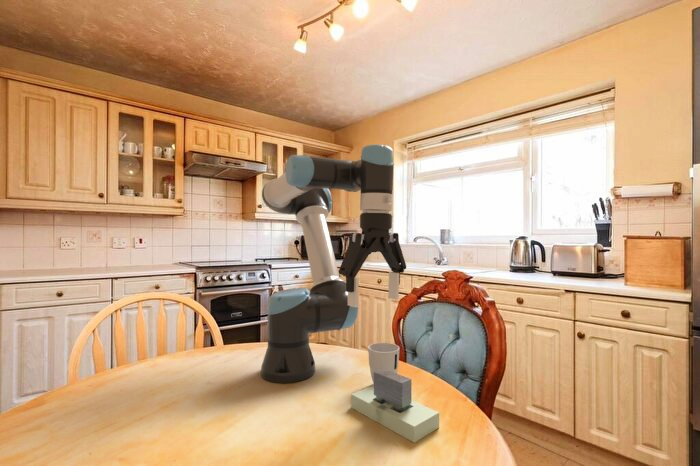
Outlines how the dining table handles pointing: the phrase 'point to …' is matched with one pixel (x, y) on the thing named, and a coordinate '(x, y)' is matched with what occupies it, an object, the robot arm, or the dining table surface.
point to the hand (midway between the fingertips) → (374, 302)
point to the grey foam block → (392, 389)
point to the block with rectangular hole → (397, 415)
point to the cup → (383, 357)
